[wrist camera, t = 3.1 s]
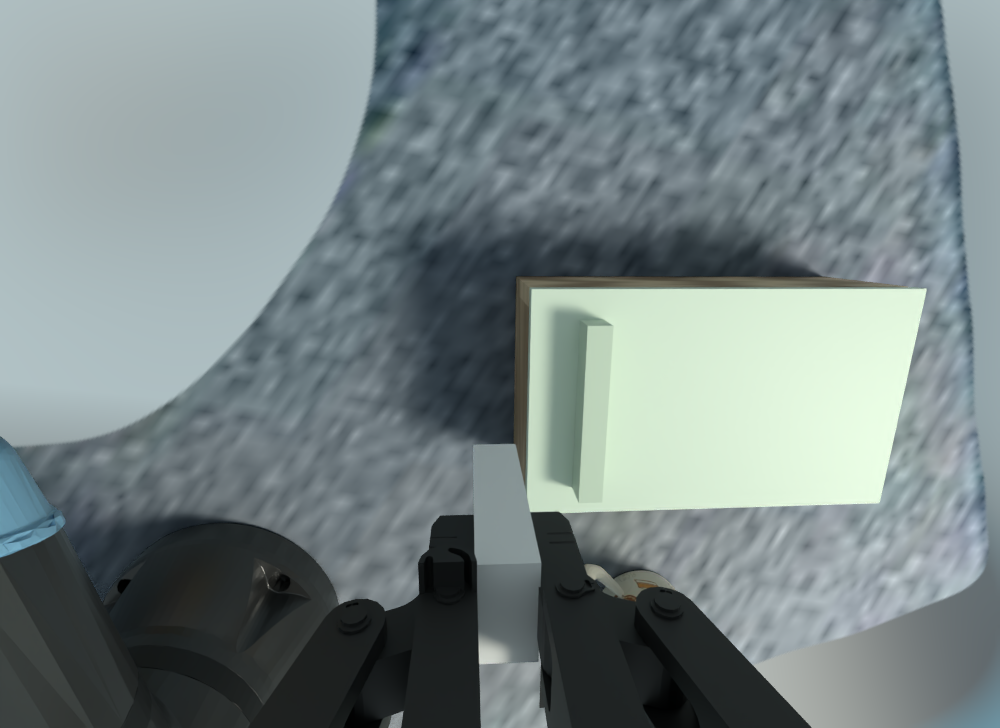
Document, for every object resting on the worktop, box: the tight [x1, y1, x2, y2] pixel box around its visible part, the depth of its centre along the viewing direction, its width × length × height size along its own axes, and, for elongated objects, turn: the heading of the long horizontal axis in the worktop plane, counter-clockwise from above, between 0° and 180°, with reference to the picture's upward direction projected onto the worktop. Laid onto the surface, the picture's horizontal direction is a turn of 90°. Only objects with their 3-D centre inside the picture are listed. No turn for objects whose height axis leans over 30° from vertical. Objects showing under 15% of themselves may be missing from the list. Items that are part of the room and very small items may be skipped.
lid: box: [525, 287, 927, 513], centre depth 25 cm, size 20×12×2 cm, turn 90°
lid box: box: [514, 276, 907, 485], centre depth 30 cm, size 20×12×6 cm, turn 90°
